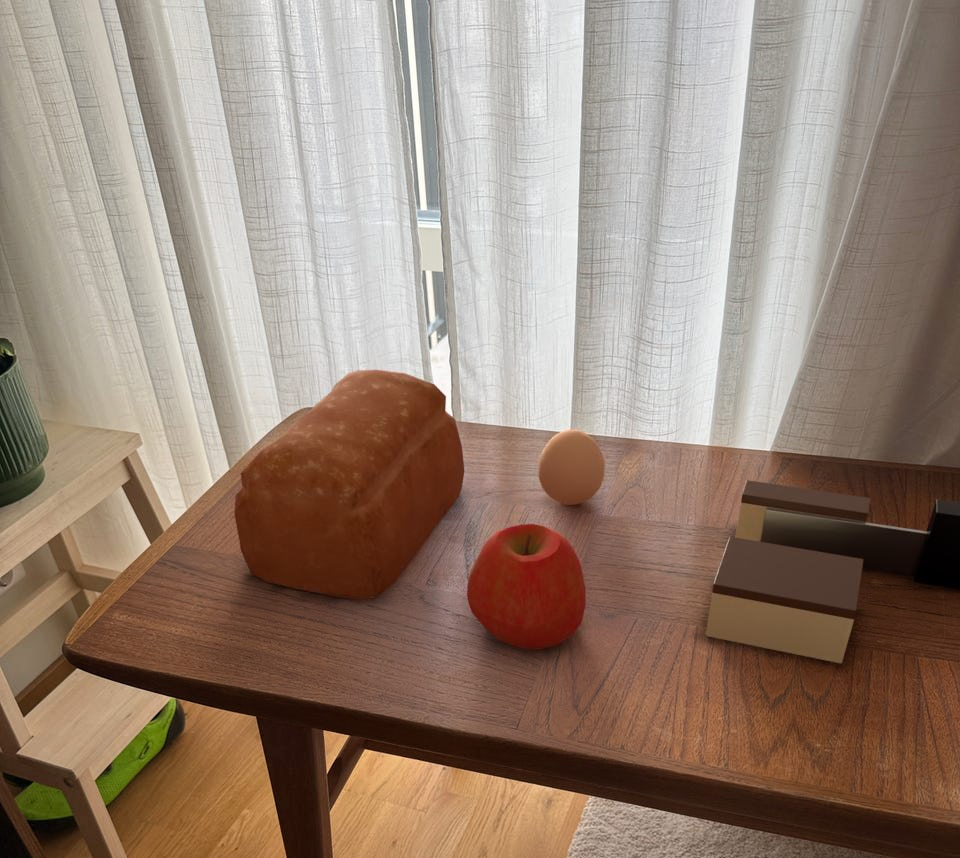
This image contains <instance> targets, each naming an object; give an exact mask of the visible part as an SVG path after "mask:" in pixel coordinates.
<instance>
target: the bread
mask: <svg viewBox="0 0 960 858" xmlns="http://www.w3.org/2000/svg"><path fill="white" fill-rule="evenodd" d="M446 405H447V395H445V394H444V393H443V391H442V390H440V388H439V387H438V386H437V385H436V384H435V383H432V382H429V381H426V380H424V379H422V378H418V377H416V376H414V375H411V374H408V373H405V372H399V371H398V372H397V371H389V370H383V369H363V370H362V369H360V370H358V369H357V370H355V371H351V372H348V373H347V374H345V376H344V377H343V378H341V379H340V380H339V381H338V382H336V383H335V385H334V386H333V388H332V389H331V391H330V392H329V393H327V394H326V395H325V396H324V397H323V398H322V399H320V401H318V402H317V403H316V404H315V405H314V406H313V407H312V408H310V409H309V410H308V411H307V412H306V413H305V414H304V415H302V416H301V417H300V418H299V419H298V420H296V421H295V422H294V423H293V424H291V426H289V427H288V428H287V429H285V430H284V432H283V433H282V434H281V435H279V437H278V438H277V439H275V440H274V441H272V442H270V443H269V444H268V445H266V446H264V447H262V448H261V449H260V451H258V452H257V454H256V455H255V456H254V457H253V458H252V459H251V461H249V462H248V464H247V465H246V466H245V467H244V469H243V470H241V472H240V478H241V479H240V481H241V485H242V486H241V488H240V489H239V490H238V492H237V493H236V494H235V499H234V513H233V514H234V519H235V520H234V521H235V524H236V531H237V536H238V541H239V547H240V552H241V554H242V556H243V559H244V561H245V563H246V565H247V568H248V570H249V572H250V574H251V575H253V576H255V577H257V578H259V579H261V580H262V581H264V582H267V583H271V584H274V585H278V586H282V587H288V588H292V589H296V590H300V591H305V592H308V593H315V594H318V595H324V596H330V597H336V598H344V599H351V600H361V599H362V600H363V599H372V598H374V599H375V598H378V597H379V596H380V595H381V594H383V593H384V592H385V591H386V590H388V589H389V588H390V587H391V586H393V585H394V584H395V583H396V582H397V581H398V579H399V578H400V576H401V575H402V574H403V572H404V571H405V570H406V568H407V567H408V566H409V565H410V564H411V562H412V560H413V559H415V557H416V555H418V553H419V552H420V550H421V549H422V548H423V546H424V545H425V544H426V542H427V541H428V539H429V538H430V537H431V535H432V534H433V533H434V531H435V529H436V528H437V527H438V525H439V524H440V522H441V521H442V519H444V517H445V516H446V514H447V513H448V512H449V511H450V510H451V508H452V507H453V506H454V505H455V504H456V503H457V500H458V499H459V497H460V495H461V491H462V489H463V484H464V476H465V462H464V454H463V453H464V452H463V445H462V440H461V438H460V437H461V436H460V434H459V433H460V432H459V428H458V424H457V421H456V418H454V417H453V416H452V415H451V414H450V413H449V412H448V411H447V410H446V407H447V406H446Z"/></svg>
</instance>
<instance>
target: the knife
mask: <svg viewBox="0 0 960 858" xmlns="http://www.w3.org/2000/svg"><path fill="white" fill-rule="evenodd" d="M760 542H765V543H770V544H776V545H782V546H788V547H794V548H800V549H806V550H812V551H818V552H823V553H829V554H835V555H841V556H847V557H853V558H859V559H863V568H862V569H867V570H875V571H881V572H885V573H886V572H887V573H894V574H899V575H906V576H911V577H913V582H914V583H918V584H923V585H930V586H936V587H941V588H942V587H943V588H948V589H954V590H955V589H956V590H960V501H954V500H946V499H938V498H936V500H935V502H934V506H933V509H932V512H931V515H930V518H929V521H928V524H927V527H926V530H920V529H913V528H905V527H899V526H892V525H886V524H878V523H872V522H867V521H866V522H859V521H853V520H846V519H839V518H832V517H825V516H819V515H812V514H805V513H798V512H792V511H785V510H778V509H771V508H766V513H765V518H764V524H763V529H762V534H761V540H760Z"/></svg>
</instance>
